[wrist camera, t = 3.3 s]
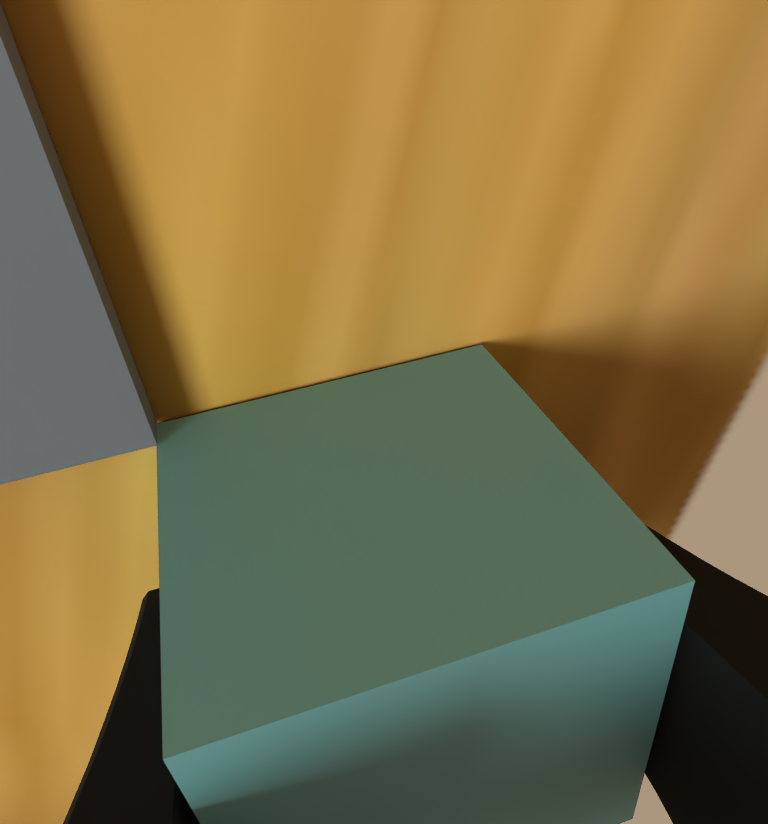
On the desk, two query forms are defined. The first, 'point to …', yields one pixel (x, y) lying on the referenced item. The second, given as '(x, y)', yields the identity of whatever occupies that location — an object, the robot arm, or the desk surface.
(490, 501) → the teal cube
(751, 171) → the desk surface
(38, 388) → the slate mat
